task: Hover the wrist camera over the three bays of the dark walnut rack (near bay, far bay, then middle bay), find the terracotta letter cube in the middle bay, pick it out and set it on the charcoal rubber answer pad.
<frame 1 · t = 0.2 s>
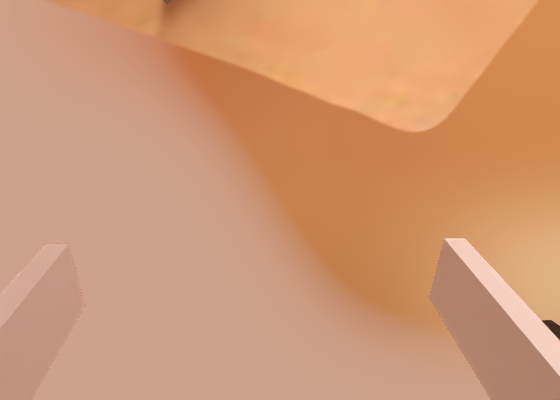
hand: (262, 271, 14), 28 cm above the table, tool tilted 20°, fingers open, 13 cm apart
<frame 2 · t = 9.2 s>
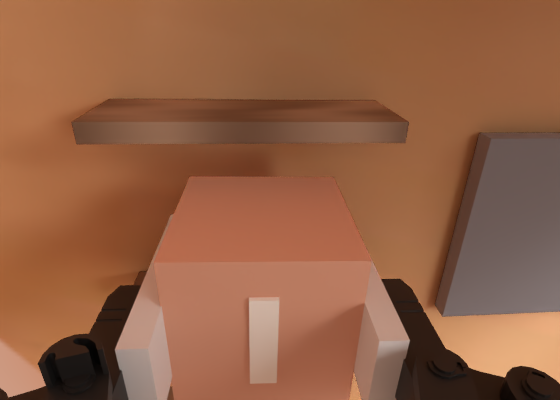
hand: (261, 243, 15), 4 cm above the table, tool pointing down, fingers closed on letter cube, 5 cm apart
bay rack: (248, 200, 19), on the table
answer pad: (546, 226, 22), on the table
letter cube: (262, 237, 16), point 4 cm above the table, touching gripper
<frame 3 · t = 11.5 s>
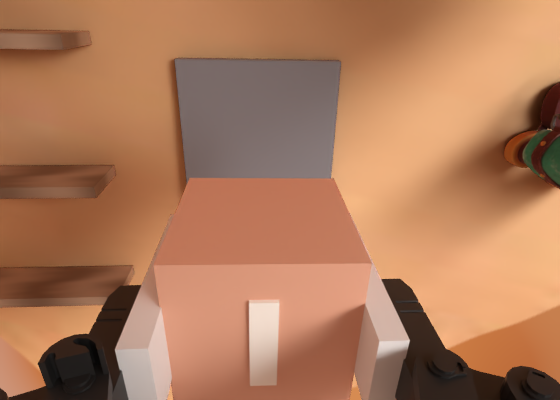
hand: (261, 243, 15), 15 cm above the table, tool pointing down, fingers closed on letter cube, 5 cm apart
bay rack: (15, 108, 26), on the table
answer pad: (259, 136, 28), on the table
letter cube: (262, 239, 16), point 14 cm above the table, touching gripper
when the fingers open (1 cm above the table, at t = 13.8 s): letter cube stays where it is, resting on answer pad.
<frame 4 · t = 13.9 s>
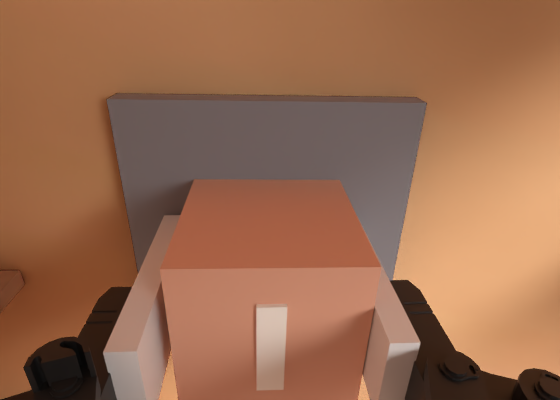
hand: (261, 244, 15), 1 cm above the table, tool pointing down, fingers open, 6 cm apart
answer pad: (268, 224, 16), on the table
letter cube: (266, 240, 15), point 1 cm above the table, touching answer pad, gripper
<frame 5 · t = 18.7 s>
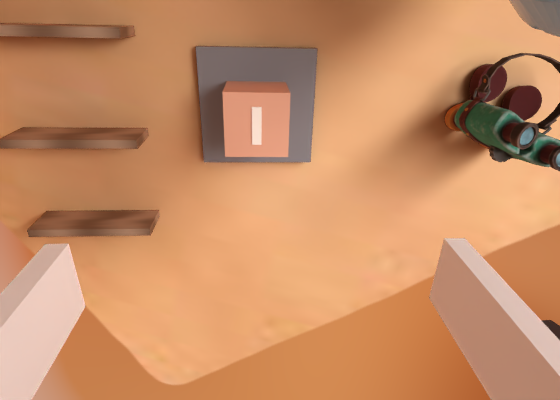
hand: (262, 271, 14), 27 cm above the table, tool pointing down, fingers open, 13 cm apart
binoculars: (490, 98, 39), on the table
bay rack: (76, 83, 35), on the table
answer pad: (257, 106, 37), on the table
letter cube: (256, 110, 37), point 1 cm above the table, touching answer pad
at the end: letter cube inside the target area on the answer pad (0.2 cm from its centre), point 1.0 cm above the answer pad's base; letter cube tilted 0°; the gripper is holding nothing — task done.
